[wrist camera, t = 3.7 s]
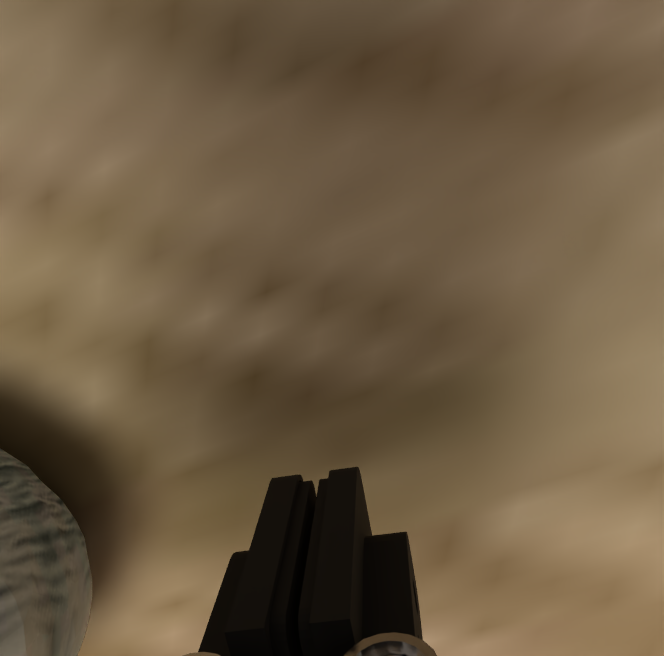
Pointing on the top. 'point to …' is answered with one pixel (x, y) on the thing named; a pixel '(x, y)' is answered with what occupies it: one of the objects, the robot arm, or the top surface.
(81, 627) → the grey rounded piece
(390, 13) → the top surface
